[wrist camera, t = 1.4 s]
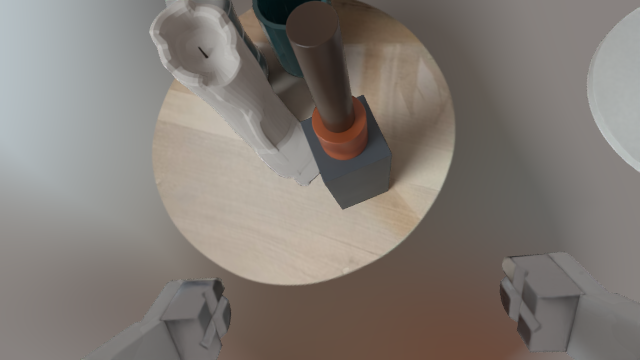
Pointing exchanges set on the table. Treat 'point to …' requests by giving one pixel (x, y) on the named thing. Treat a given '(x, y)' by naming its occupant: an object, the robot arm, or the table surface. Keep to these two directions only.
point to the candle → (232, 84)
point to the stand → (354, 165)
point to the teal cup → (280, 29)
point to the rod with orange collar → (327, 79)
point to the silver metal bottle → (225, 4)
